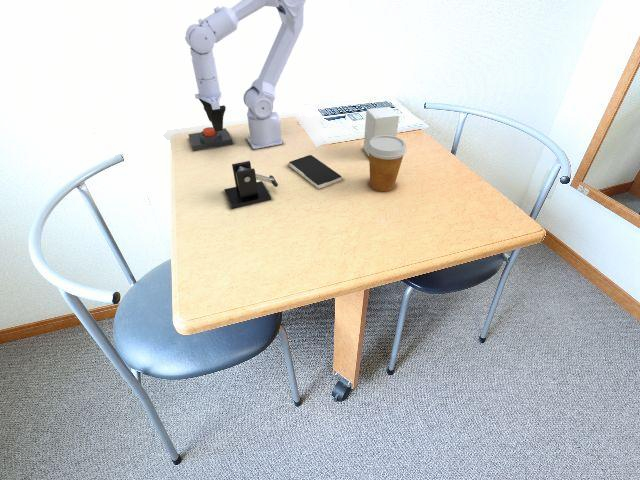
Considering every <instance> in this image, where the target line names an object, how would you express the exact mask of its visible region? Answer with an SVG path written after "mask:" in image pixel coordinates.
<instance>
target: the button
mask: <svg viewBox="0 0 640 480" xmlns="http://www.w3.org/2000/svg"><path fill="white" fill-rule="evenodd" d="M202 131H203V133H204V136H205V137H211V136H214V135H216V132H215V130H214V128H213V126H209V127H208V126H207V127H205V128H203V129H202Z"/></svg>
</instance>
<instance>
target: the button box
mask: <svg viewBox="0 0 640 480" xmlns="http://www.w3.org/2000/svg"><path fill="white" fill-rule="evenodd" d="M187 135H188V139H189V142H190V144H191V145H190V146H191V147H192V151H193V152H197V151H201V150H207V149H213V148H218V147H225V146H230V145H233V139H232V137H231V135H230V133H229V131H228V130H227V128H226V127H223V130H222V131H217V132H216V135H214V136H211V137H205V136H204V133H203V130H201V132H195V133H188V134H187Z"/></svg>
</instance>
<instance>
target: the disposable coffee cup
mask: <svg viewBox="0 0 640 480" xmlns="http://www.w3.org/2000/svg"><path fill="white" fill-rule="evenodd" d="M367 149H368V151H369V156H368V161H369V165H368V166H369V185H370V188H372V189H373V190H374V191H378V192H389V191H392V190H393V189H394V188H395V185H396V182H397V178H398V174H399V171H400V168H401V165H402V162H403V158H404V156H405V154H406V152H407V146H406V142H405V140H403V139H402V138H400V137H398V136H396V137H395V136H388V135H382V136H376V137H374V138H372V139H371V140H370V142H369V144H368V146H367Z"/></svg>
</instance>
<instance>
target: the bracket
mask: <svg viewBox="0 0 640 480" xmlns="http://www.w3.org/2000/svg"><path fill="white" fill-rule="evenodd" d="M239 166H241V167H245V168H249V169H248V170H243V171H238V169H239ZM231 168H232V173H233V179H234V184H235V186H233V187H228V188H223V189H224V194H225V196H226V198H227V201H228V204H229V206H230V208H231V210H233V209H237V208H241V207H245V206H246V207H247V206H250V205H254V204H255V205H256V204H259V203H263V202H267V201H268V202H269V201H271V200H272V196H271V194H270V192H269V191H268V189H267V188H266V187H267V186H266V185H265V184H264V181H261V180H259V181H257V179H256V175H255V174H256V169H255V168H252V163H251V161H250V160H246V161H241V162H236V163H232V164H231ZM237 171H238V172H237Z"/></svg>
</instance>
